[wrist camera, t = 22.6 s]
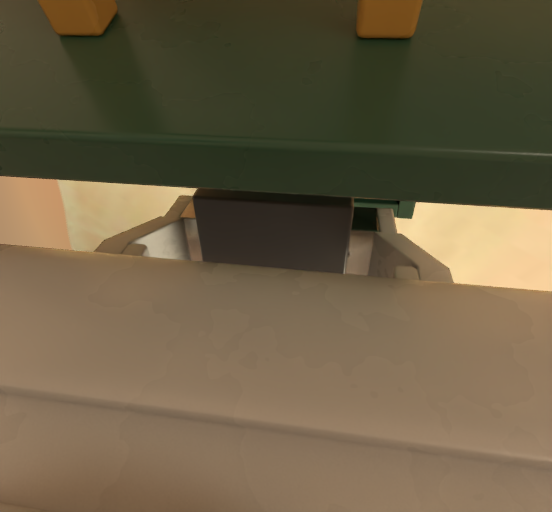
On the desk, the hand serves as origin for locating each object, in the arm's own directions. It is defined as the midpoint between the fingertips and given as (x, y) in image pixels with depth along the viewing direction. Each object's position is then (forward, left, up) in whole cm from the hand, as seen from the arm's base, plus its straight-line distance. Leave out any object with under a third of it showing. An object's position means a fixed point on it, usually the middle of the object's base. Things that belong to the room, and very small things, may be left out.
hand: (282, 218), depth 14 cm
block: (0, 0, -2) cm, 2 cm away
